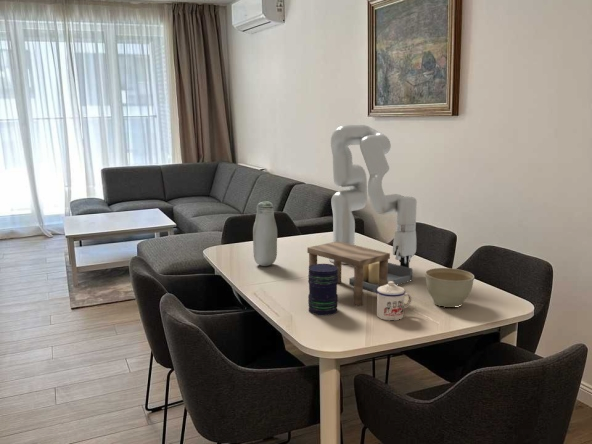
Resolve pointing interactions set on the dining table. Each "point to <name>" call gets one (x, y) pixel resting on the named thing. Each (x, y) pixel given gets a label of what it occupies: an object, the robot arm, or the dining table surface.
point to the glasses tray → (394, 274)
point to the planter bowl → (449, 286)
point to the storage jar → (323, 289)
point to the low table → (352, 262)
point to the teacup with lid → (391, 301)
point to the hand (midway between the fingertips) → (404, 271)
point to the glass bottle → (265, 235)
